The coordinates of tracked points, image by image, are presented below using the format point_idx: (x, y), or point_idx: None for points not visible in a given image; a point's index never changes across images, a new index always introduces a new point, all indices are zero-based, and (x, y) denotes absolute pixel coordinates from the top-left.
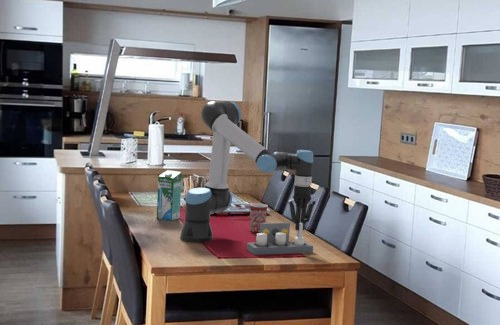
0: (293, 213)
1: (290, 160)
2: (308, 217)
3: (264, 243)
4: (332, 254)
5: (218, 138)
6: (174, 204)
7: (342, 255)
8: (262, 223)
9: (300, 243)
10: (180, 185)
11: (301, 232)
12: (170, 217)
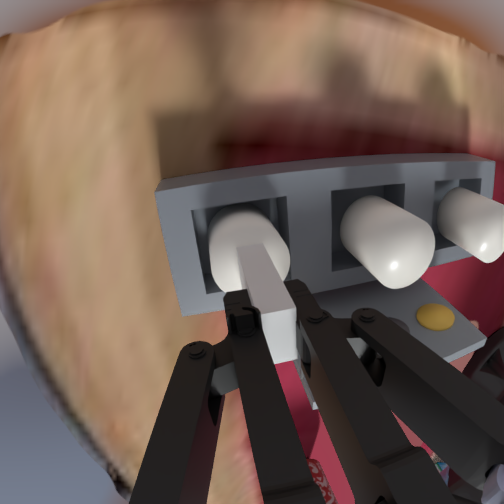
0: (441, 365)
1: None
2: (192, 382)
3: (464, 192)
4: (46, 193)
5: None
6: None
7: (4, 178)
8: (480, 342)
9: (246, 216)
10: None
11: (251, 266)
12: (441, 466)
